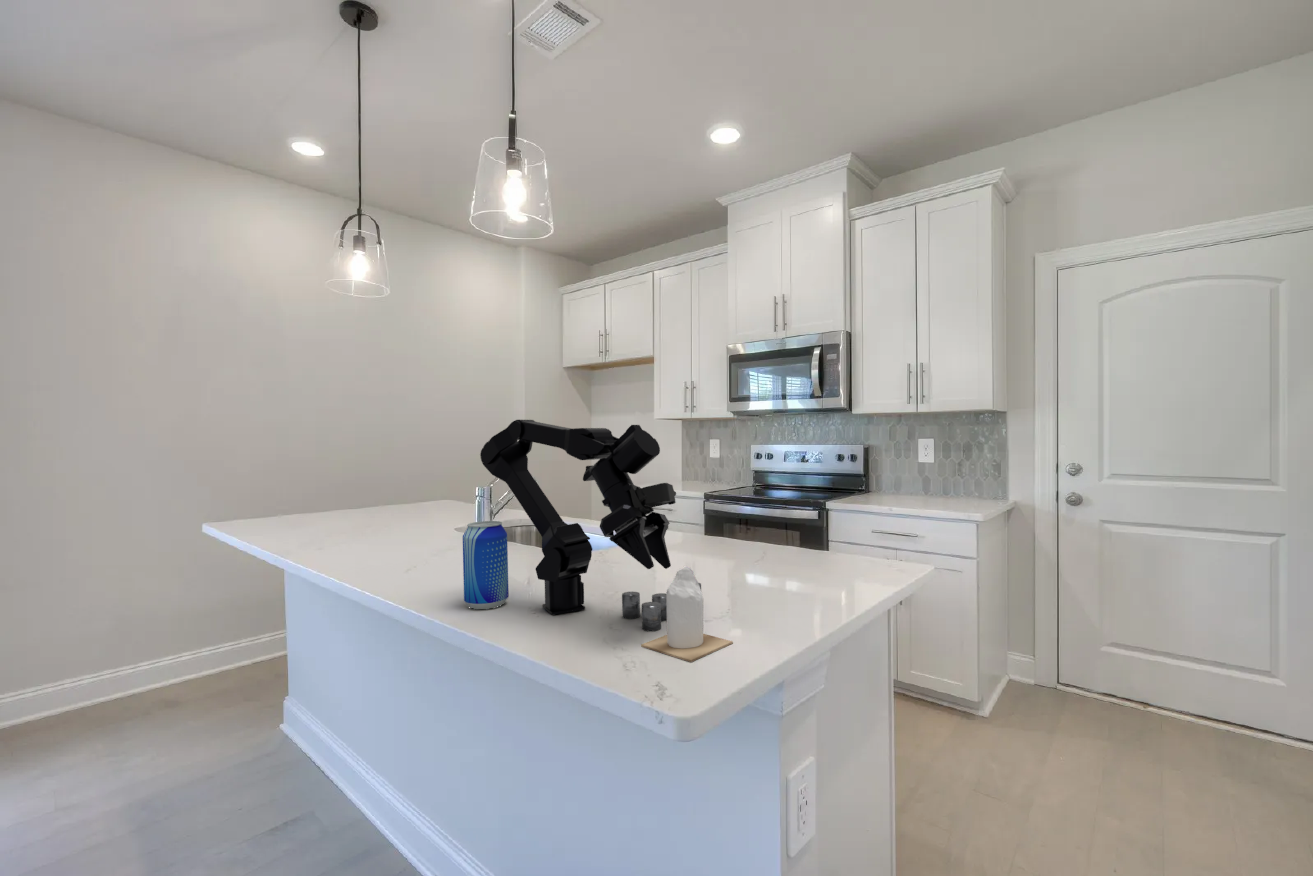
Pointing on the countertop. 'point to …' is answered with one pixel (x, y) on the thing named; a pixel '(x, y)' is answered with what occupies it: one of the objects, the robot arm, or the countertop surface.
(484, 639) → the countertop surface
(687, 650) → the mat
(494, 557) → the beer can
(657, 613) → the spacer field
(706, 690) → the countertop surface
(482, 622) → the countertop surface
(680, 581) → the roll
